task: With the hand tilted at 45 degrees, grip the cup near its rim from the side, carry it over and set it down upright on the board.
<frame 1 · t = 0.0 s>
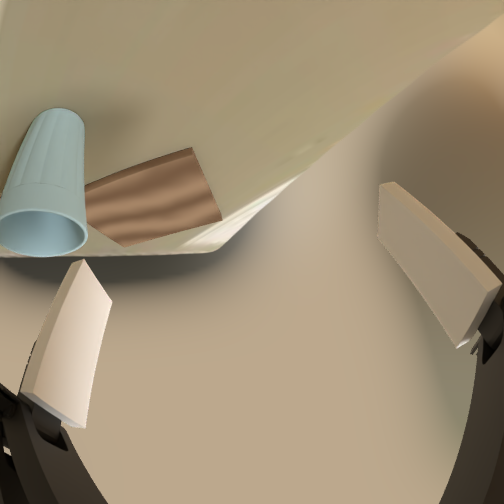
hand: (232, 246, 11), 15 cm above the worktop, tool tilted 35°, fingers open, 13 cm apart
board: (148, 205, 35), on the worktop
cup: (57, 128, 18), on the worktop
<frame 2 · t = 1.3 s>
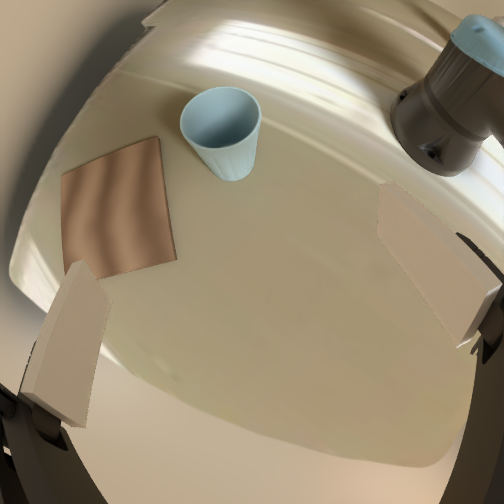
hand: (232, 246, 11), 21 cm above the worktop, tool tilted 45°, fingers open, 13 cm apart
board: (110, 212, 34), on the worktop
cup: (232, 162, 34), on the worktop
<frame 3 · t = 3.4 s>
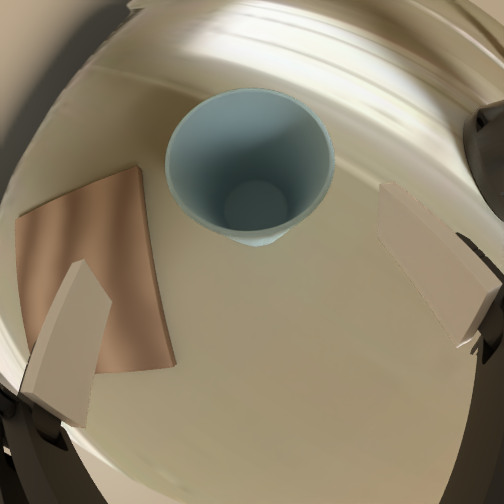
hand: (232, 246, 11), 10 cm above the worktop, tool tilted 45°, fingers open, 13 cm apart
board: (76, 282, 22), on the worktop
cup: (256, 212, 22), on the worktop
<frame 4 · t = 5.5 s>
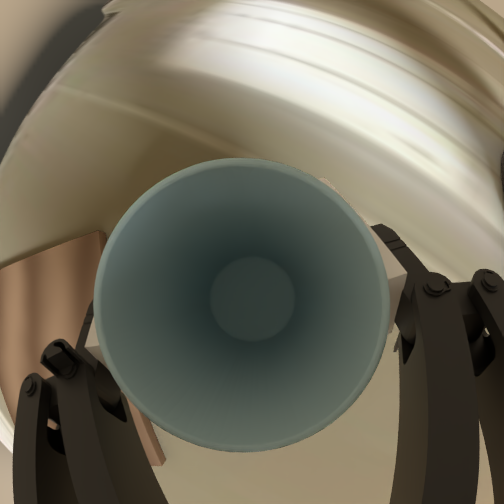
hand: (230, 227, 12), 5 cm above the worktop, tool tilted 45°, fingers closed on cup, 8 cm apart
board: (48, 362, 16), on the worktop
cup: (252, 298, 17), on the worktop, touching gripper
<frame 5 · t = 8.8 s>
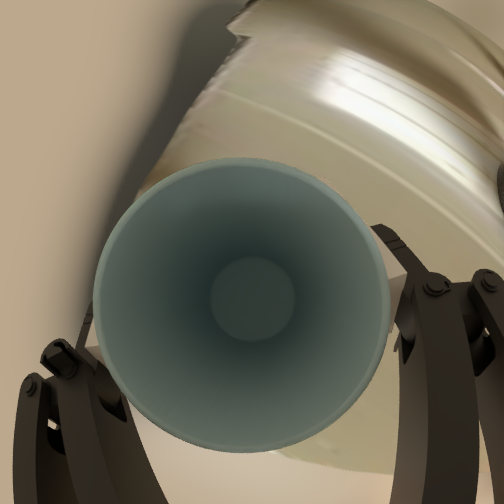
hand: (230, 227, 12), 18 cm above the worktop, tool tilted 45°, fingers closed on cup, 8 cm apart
cup: (252, 299, 17), point 14 cm above the worktop, touching gripper
when the fingers open (6 cm above the worktop, at t = 12.3 s): cup stays where it is, resting on board.
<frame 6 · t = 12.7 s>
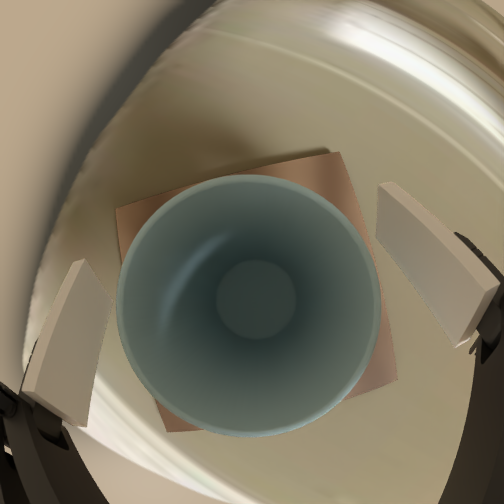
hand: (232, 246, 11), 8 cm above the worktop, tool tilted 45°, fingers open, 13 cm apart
board: (253, 298, 19), on the worktop
cup: (256, 299, 18), point 1 cm above the worktop, touching board
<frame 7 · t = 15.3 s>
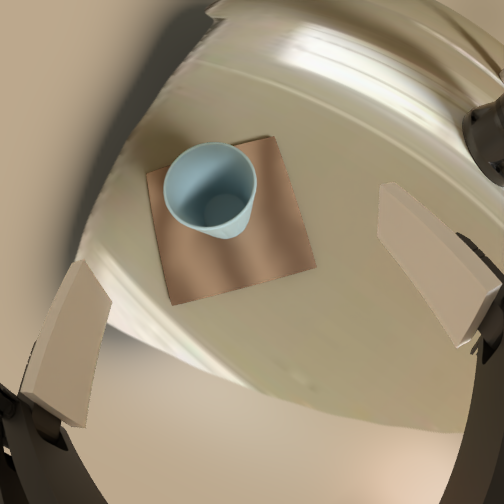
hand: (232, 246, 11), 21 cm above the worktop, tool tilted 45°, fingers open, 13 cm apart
board: (225, 217, 33), on the worktop
cup: (225, 216, 32), point 1 cm above the worktop, touching board
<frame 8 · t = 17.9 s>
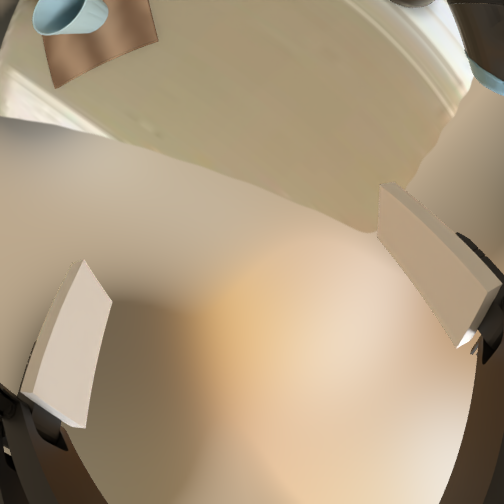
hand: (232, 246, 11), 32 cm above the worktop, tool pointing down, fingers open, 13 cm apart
board: (92, 18, 23), on the worktop
cup: (92, 17, 22), point 1 cm above the worktop, touching board
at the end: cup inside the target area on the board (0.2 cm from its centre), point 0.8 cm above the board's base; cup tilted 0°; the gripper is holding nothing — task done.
